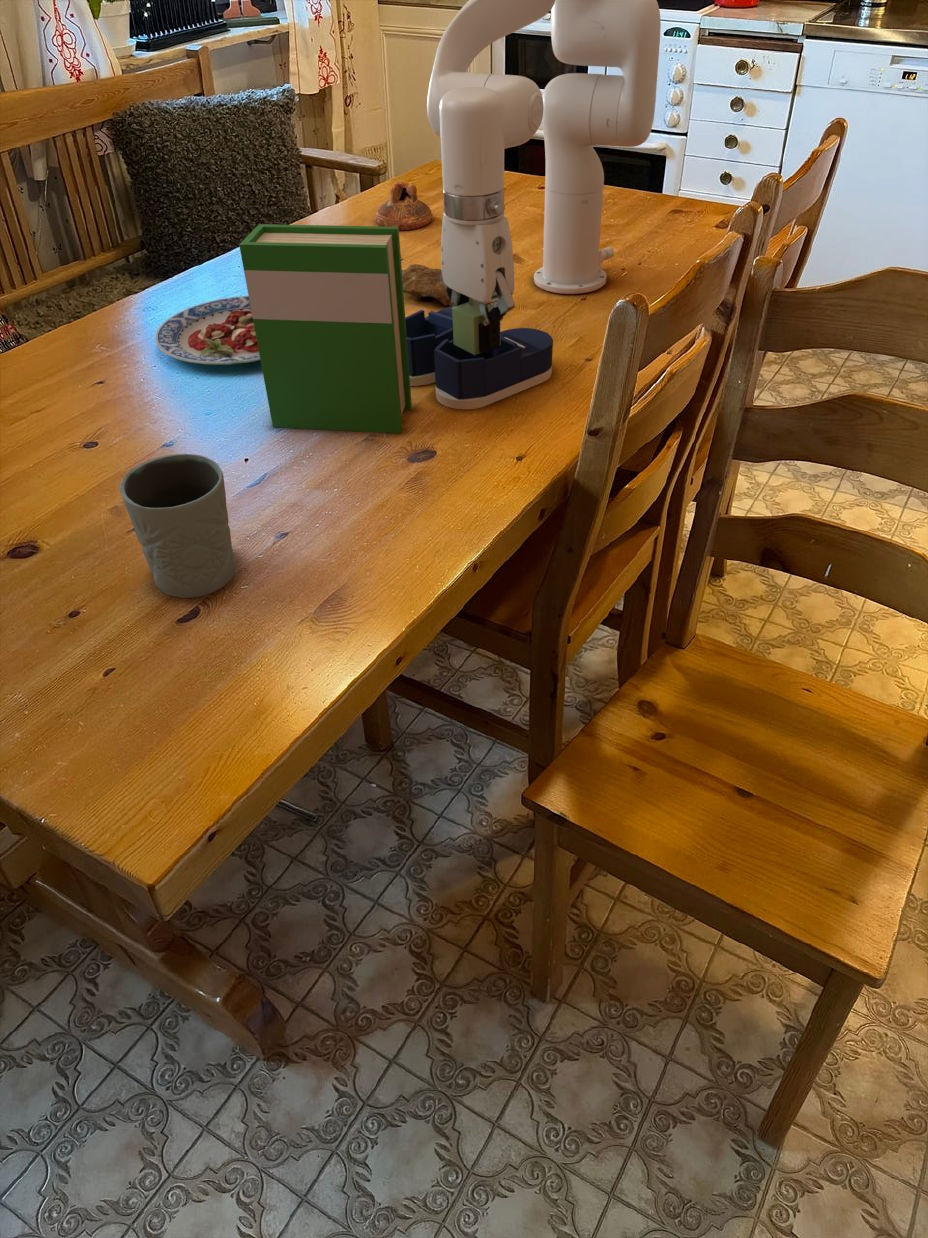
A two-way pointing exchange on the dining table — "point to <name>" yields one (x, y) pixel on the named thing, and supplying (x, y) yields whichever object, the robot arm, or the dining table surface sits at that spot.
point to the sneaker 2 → (492, 369)
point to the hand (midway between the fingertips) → (477, 342)
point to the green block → (468, 326)
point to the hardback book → (330, 325)
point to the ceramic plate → (211, 333)
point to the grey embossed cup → (181, 522)
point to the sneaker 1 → (426, 342)
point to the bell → (403, 208)
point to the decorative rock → (424, 283)
